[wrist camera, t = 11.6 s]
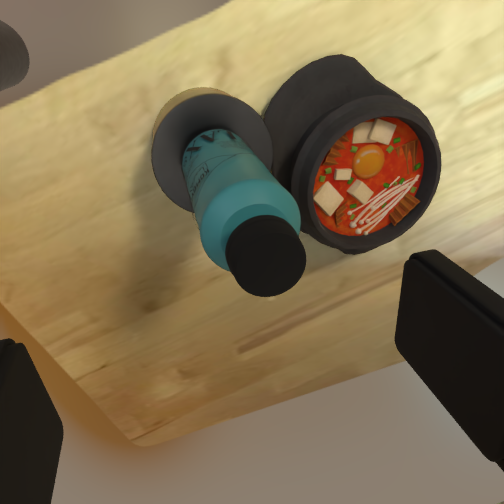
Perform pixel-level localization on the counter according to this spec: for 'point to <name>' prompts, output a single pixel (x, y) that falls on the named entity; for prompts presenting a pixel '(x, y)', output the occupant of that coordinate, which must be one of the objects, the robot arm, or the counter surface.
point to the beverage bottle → (243, 214)
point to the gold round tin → (196, 122)
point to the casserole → (351, 154)
